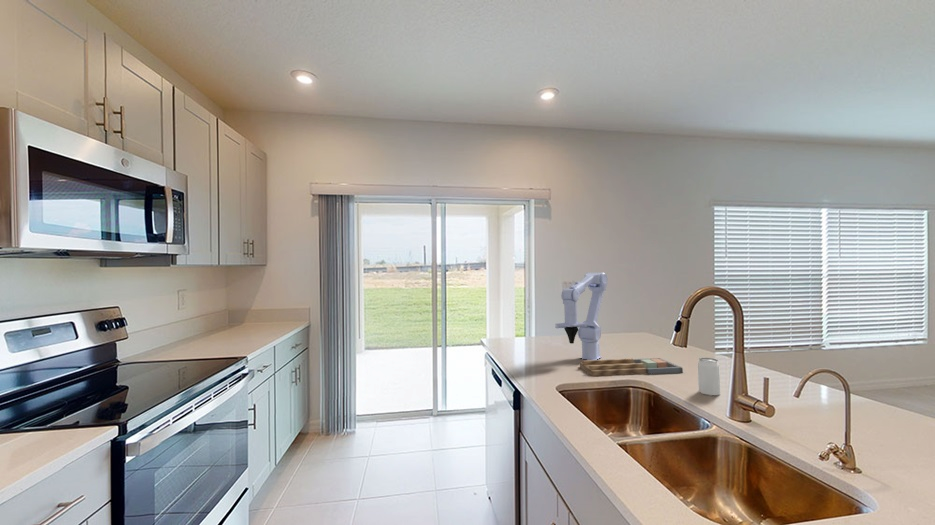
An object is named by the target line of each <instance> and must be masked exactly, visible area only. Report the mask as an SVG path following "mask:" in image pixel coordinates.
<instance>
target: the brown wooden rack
mask: <svg viewBox="0 0 935 525" xmlns="http://www.w3.org/2000/svg"><path fill="white" fill-rule="evenodd" d="M634 359H635V358H614V359H611V358H609V359H598V360H581V362H579V368H580V367H581V369H582V368H583V369H584V370H583V369H582V370H583V371H585V372H586V373H587V372H588V373H587V374H588V375H590V376H592V377H602V376H603V377H604V376H605V377H606V376H621V375H623V376H624V375H642V374H643V375H645V374H646V375H648V374H647V369H646V368H644V364H643V363H634Z"/></svg>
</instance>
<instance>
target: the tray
mask: <svg viewBox="0 0 935 525" xmlns="http://www.w3.org/2000/svg"><path fill="white" fill-rule="evenodd" d="M633 359H634V363H641V360H645V359H646V358H633ZM648 359H649V360H650V359H660V360H662V361H665V362H666V363H667V367H666V368H647V374H646V375H662V374H682V373H684V372H683V370H684V369H683V367H682V366H679V365H677V364H675V363H672V362H671V361H670V362H669V361H667V360H665V359H663V358H661V357H656V358H655V357H653V358H648Z"/></svg>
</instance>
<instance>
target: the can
mask: <svg viewBox="0 0 935 525" xmlns="http://www.w3.org/2000/svg"><path fill="white" fill-rule="evenodd" d="M720 370H721V369H720V363H719V362H718V359H715V358H711V357H700V358H698V362H697V378H698V379H697V381H698V384H697V385H698V392H699V393H700V392H701V393H700V394H702V393H703V394H702V395H704V394H707V395H706V396H709V395H718V396H719V395H721V377H720V376H721V374H720Z"/></svg>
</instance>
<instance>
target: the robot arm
mask: <svg viewBox="0 0 935 525" xmlns="http://www.w3.org/2000/svg"><path fill="white" fill-rule="evenodd" d="M607 285H608V276H607V274H606V273H605V272H586V274H584V278H582V279H581V280H580V281H575V282H574V283H573V284H572V285H570V286H569V288H565V289H563V290H562V292H561V294H560V295H561V299H562V304H563V307H564V309H563V310H564V322H562V323H561V322H560V323H555V328H556V329H564V331H565V332H566V335H567V338H568V342H569V344H571V345H573V344H574V343H575V339H576V336H578V338H579V339H580V341H581V357H582V359H581V360H583V359H587V360H597V359H598V360H600V359H601V358H602V355H601V354H600V351H601V350H600V343H599V341H600V339H601V336H602V334H601V330H602V328H601V326H600V325H599V324H598V318H599V313H600V309H601V304H602V301H603V295H604V291H606V289H607ZM587 287H588V290H590V291H591V292H592V293H591V297H590V302H589V306H588V310H587V315H586V318H585V319H586V320H585V321H583V322H578V302H577V301H579V298H580V297H581V295H582V294H583V293H584V292H585V291H586V288H587ZM599 358H600V359H599ZM587 360H586V361H587Z"/></svg>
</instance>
